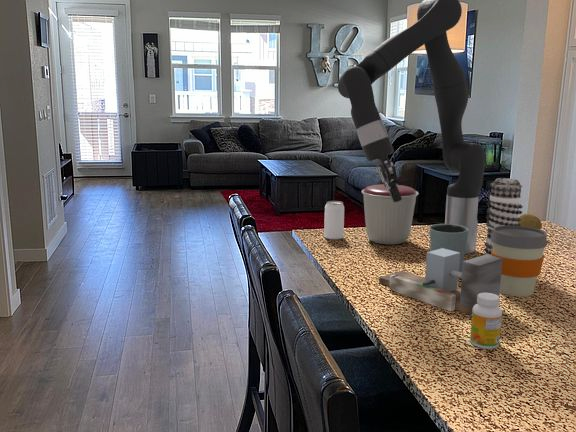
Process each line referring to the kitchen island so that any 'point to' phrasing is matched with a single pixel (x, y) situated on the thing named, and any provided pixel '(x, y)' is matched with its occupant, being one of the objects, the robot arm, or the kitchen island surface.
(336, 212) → the can
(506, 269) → the reusable coffee cup
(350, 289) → the kitchen island surface
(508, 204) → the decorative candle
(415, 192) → the canister
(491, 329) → the supplement bottle
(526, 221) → the potato
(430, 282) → the block
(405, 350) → the kitchen island surface
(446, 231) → the teal gray cup
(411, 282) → the track
